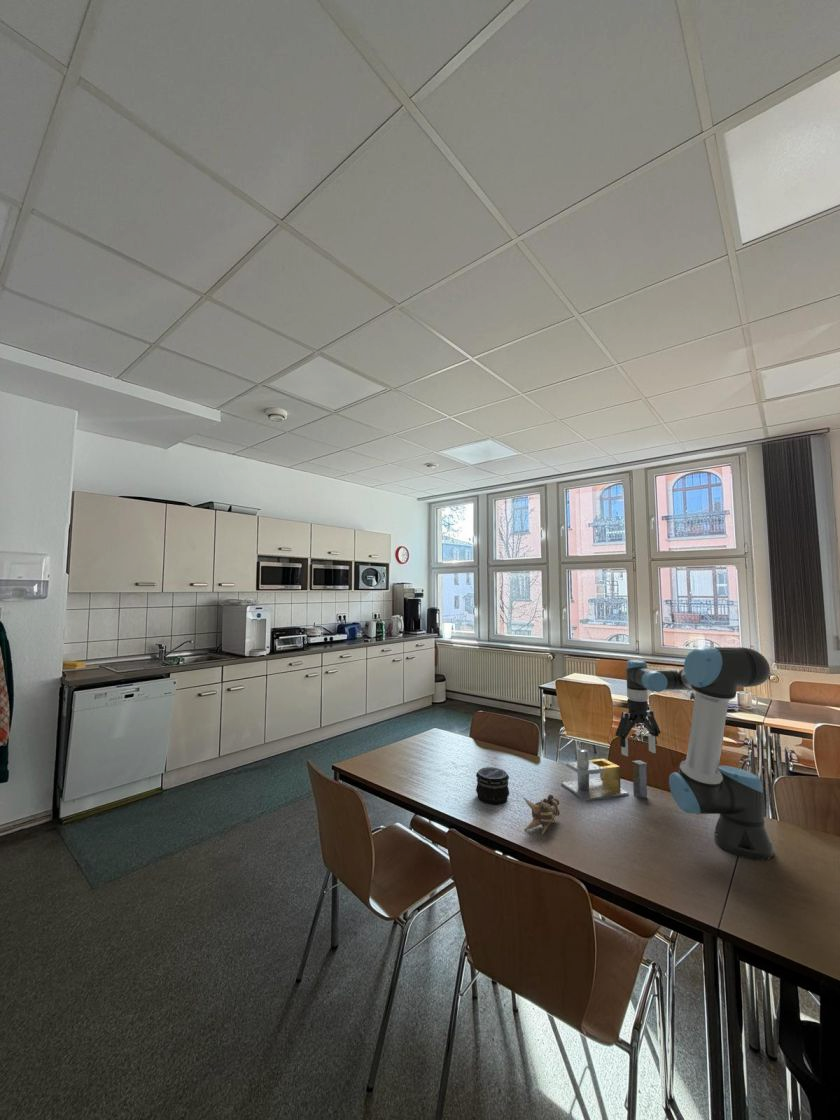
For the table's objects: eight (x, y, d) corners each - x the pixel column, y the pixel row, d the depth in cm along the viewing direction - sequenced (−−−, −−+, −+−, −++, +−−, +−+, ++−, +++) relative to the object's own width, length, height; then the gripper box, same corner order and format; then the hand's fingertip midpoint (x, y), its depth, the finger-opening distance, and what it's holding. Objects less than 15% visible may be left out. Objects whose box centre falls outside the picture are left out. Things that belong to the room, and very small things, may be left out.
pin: (647, 797, 176) (646, 763, 177) (640, 798, 175) (639, 764, 176) (640, 793, 180) (639, 760, 181) (632, 794, 179) (631, 761, 180)
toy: (569, 827, 153) (544, 839, 144) (549, 820, 160) (523, 831, 150) (567, 793, 156) (542, 802, 146) (547, 788, 162) (522, 796, 152)
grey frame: (628, 795, 178) (627, 753, 180) (586, 801, 172) (585, 758, 174) (600, 779, 193) (600, 741, 195) (561, 784, 188) (560, 745, 189)
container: (506, 808, 165) (506, 780, 166) (472, 803, 170) (472, 776, 170) (511, 794, 177) (511, 768, 178) (479, 790, 182) (479, 764, 182)
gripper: (654, 695, 188) (655, 747, 187) (605, 699, 181) (606, 753, 179) (669, 699, 181) (670, 753, 179) (618, 703, 174) (619, 759, 172)
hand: (638, 753), depth 179 cm, fingers open, 13 cm apart
